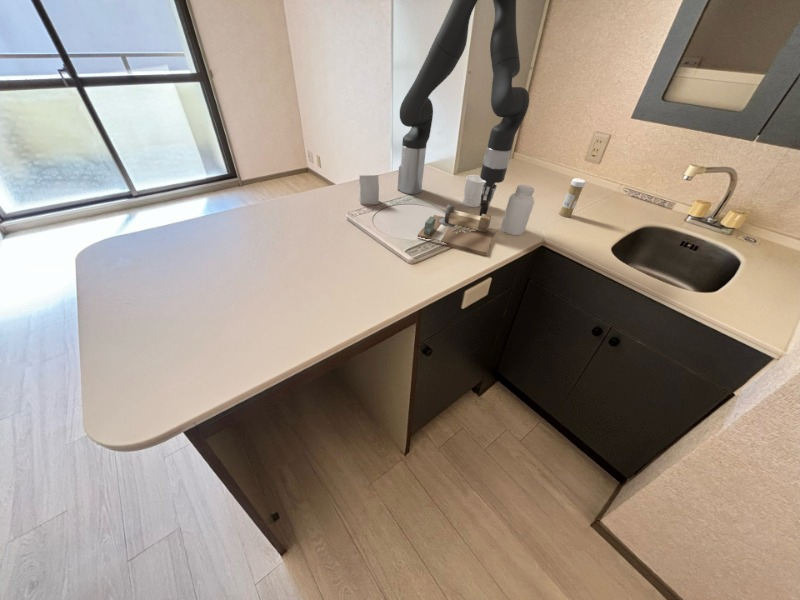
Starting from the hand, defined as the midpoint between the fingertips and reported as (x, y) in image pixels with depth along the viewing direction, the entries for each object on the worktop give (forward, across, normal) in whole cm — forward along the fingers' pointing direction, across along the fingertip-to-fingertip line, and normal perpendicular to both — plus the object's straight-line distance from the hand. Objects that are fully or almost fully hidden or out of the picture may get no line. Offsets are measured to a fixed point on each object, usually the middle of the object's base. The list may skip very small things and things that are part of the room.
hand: (482, 216), depth 111 cm
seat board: (+4, +11, -5) cm, 13 cm away
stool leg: (+2, +6, -4) cm, 8 cm away
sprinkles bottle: (+4, -27, +28) cm, 39 cm away
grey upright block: (+4, +2, -42) cm, 42 cm away
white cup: (+4, -17, -7) cm, 19 cm away
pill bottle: (+4, -2, +11) cm, 12 cm away
